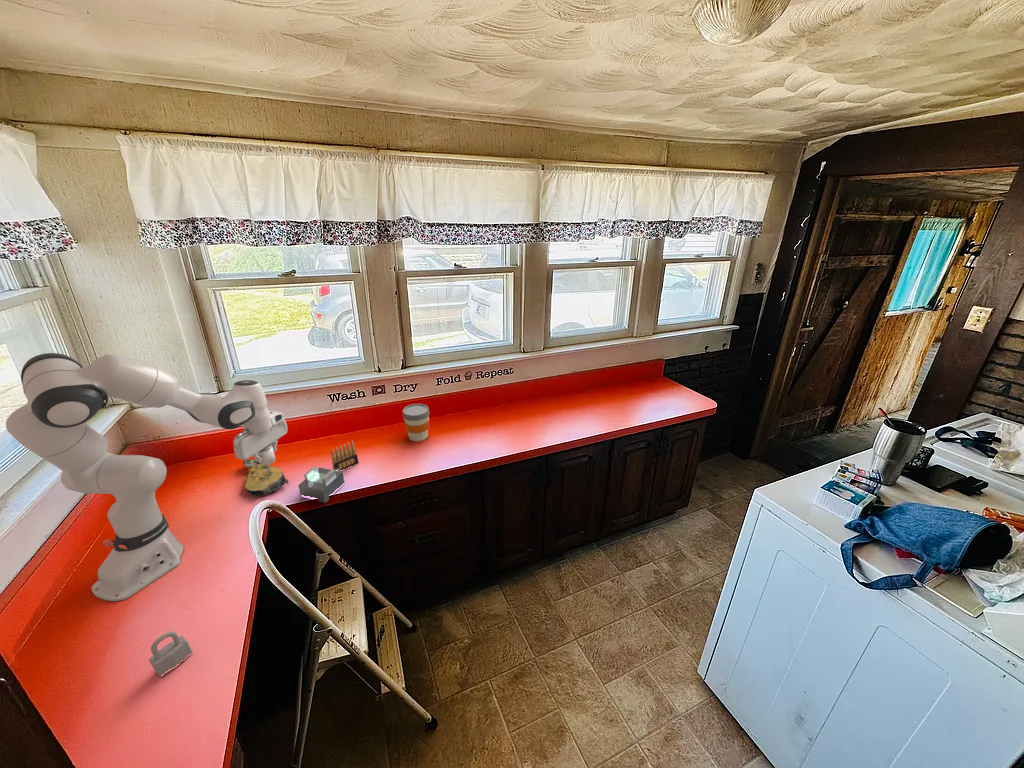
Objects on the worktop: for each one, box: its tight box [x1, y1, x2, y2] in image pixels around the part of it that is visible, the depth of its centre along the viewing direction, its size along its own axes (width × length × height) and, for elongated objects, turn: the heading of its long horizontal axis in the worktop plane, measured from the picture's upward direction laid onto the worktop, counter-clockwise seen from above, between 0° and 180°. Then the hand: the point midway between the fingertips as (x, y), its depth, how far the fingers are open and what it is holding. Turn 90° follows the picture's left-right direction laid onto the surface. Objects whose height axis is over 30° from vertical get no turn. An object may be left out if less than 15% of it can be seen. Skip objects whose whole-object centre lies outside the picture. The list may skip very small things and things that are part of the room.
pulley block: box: [242, 458, 289, 502], centre depth 170 cm, size 14×6×30 cm
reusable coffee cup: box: [402, 403, 431, 442], centre depth 200 cm, size 13×13×15 cm
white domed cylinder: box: [258, 444, 276, 465], centre depth 150 cm, size 5×5×6 cm
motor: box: [298, 465, 346, 504], centre depth 165 cm, size 16×11×9 cm
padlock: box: [148, 630, 193, 677], centre depth 102 cm, size 7×4×10 cm, turn 149°
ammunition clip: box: [330, 440, 360, 471], centre depth 177 cm, size 11×2×12 cm, turn 137°
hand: (266, 456), depth 150 cm, fingers closed on white domed cylinder, 5 cm apart
